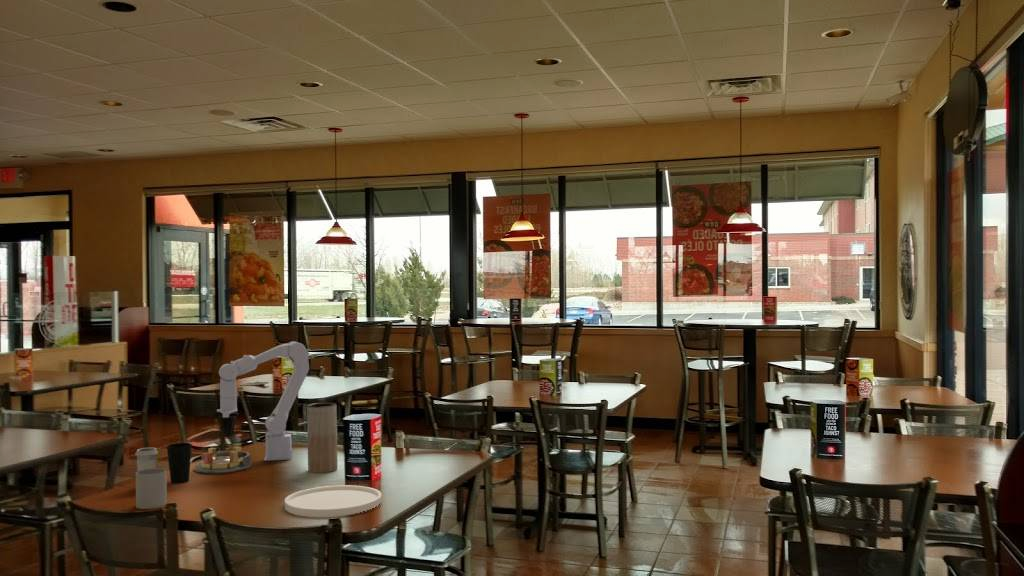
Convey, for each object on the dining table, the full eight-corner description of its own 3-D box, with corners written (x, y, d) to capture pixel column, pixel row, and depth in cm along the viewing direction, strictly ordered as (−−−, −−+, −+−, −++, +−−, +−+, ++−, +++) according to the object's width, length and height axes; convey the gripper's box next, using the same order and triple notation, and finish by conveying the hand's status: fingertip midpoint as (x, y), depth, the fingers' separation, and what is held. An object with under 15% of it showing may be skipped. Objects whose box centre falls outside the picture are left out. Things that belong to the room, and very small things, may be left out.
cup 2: (173, 502, 250) (172, 469, 250) (152, 509, 243) (152, 475, 242) (150, 500, 253) (149, 467, 253) (129, 507, 245) (129, 473, 245)
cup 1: (131, 486, 271) (130, 449, 271) (151, 482, 276) (150, 446, 276) (143, 490, 266) (142, 452, 266) (162, 485, 272) (162, 448, 272)
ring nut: (247, 459, 306) (246, 445, 306) (241, 467, 292) (241, 453, 292) (205, 461, 303) (204, 447, 303) (197, 470, 289) (197, 455, 289)
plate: (292, 523, 228) (292, 514, 228) (278, 499, 254) (278, 491, 254) (393, 510, 239) (392, 502, 239) (369, 489, 265) (369, 481, 265)
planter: (309, 474, 286) (308, 407, 285) (306, 468, 295) (305, 403, 295) (339, 471, 289) (338, 405, 289) (335, 465, 298) (334, 402, 298)
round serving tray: (254, 460, 308) (254, 449, 308) (247, 472, 290) (247, 460, 290) (199, 463, 305) (199, 452, 305) (189, 475, 286) (189, 463, 286)
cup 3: (186, 484, 274) (185, 447, 274) (163, 484, 274) (162, 447, 274) (195, 478, 281) (195, 442, 281) (173, 478, 282) (172, 442, 282)
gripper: (220, 394, 312) (220, 431, 312) (213, 400, 297) (214, 438, 298) (239, 394, 313) (240, 430, 313) (234, 399, 299) (234, 437, 299)
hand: (229, 434), depth 305 cm, fingers open, 4 cm apart
